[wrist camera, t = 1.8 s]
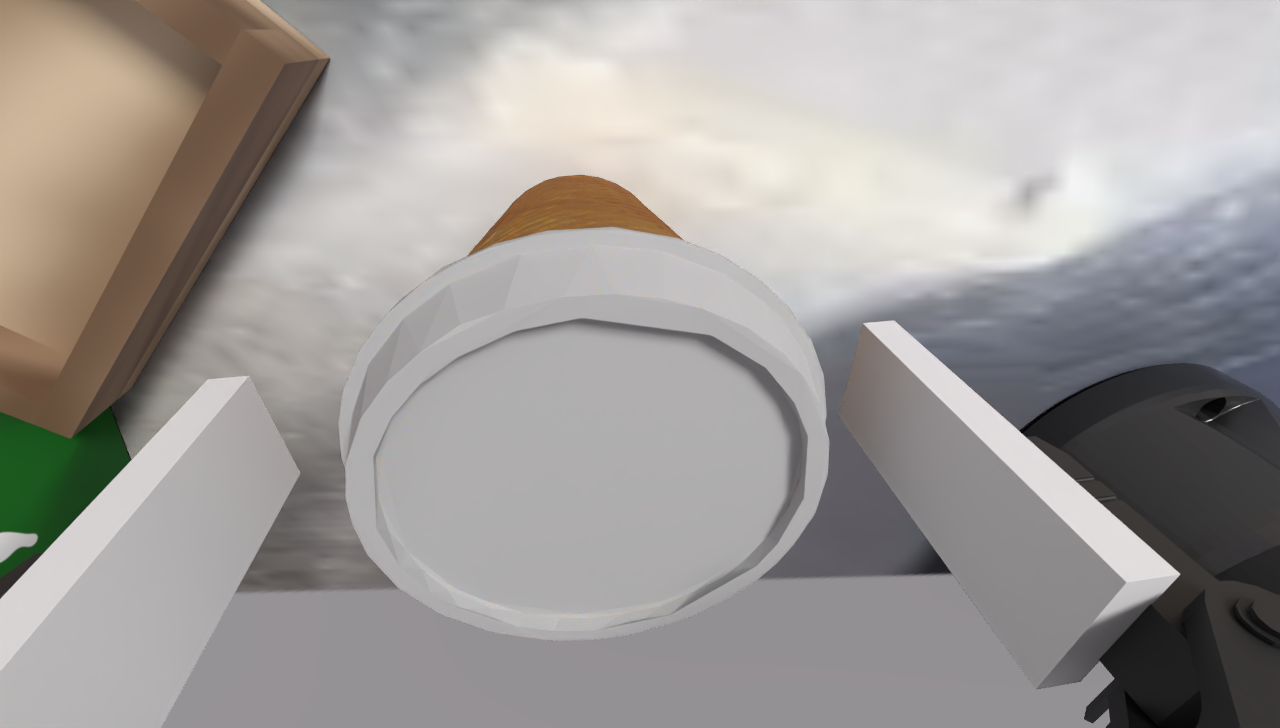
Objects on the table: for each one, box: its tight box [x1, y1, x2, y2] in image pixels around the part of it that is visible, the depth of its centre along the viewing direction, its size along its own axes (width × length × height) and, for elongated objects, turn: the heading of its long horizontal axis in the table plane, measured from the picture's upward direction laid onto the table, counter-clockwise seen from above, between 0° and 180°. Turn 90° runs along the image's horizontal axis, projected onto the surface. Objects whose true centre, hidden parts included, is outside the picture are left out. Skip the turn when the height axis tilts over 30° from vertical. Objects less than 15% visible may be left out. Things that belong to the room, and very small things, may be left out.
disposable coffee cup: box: [338, 175, 829, 641], centre depth 14 cm, size 10×10×12 cm
